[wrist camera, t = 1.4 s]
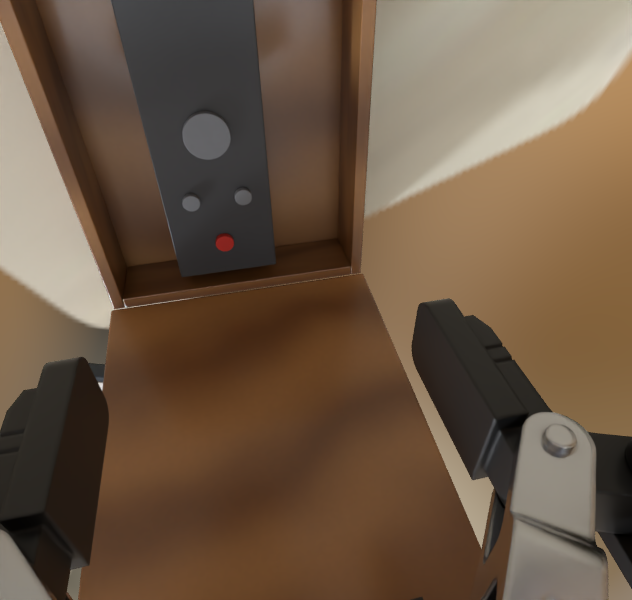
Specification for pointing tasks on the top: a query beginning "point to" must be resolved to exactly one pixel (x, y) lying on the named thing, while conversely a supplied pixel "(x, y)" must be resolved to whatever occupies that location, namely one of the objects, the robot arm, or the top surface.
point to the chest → (135, 161)
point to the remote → (203, 126)
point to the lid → (271, 457)
